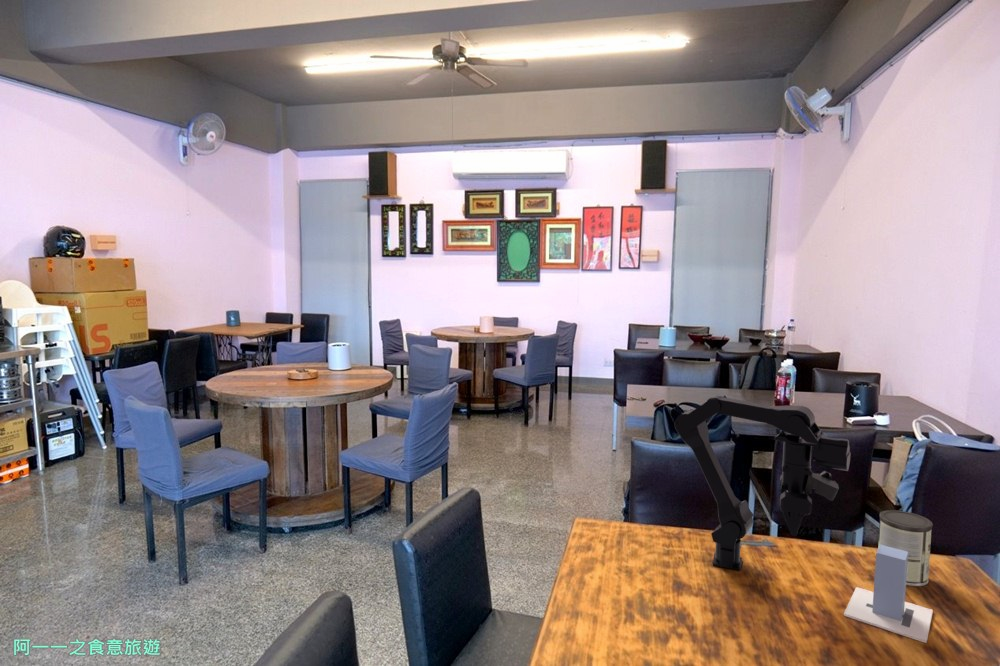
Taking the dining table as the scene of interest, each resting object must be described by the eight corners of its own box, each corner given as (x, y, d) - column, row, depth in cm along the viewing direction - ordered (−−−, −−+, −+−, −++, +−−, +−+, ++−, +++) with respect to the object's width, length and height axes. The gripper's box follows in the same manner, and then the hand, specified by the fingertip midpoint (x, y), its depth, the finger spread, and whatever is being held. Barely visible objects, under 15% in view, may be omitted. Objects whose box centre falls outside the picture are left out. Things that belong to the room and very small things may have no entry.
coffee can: (870, 562, 144) (874, 507, 143) (919, 568, 141) (923, 513, 139) (883, 582, 134) (887, 523, 133) (935, 590, 131) (940, 530, 130)
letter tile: (843, 615, 121) (843, 613, 121) (856, 589, 131) (856, 586, 131) (926, 643, 112) (926, 640, 111) (932, 612, 122) (932, 609, 122)
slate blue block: (872, 612, 121) (876, 552, 120) (876, 602, 125) (880, 544, 124) (901, 621, 118) (905, 560, 117) (904, 610, 122) (908, 551, 120)
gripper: (841, 479, 120) (837, 551, 121) (833, 455, 137) (830, 519, 138) (781, 471, 125) (778, 541, 126) (781, 449, 142) (778, 510, 143)
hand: (793, 527), depth 133 cm, fingers open, 9 cm apart
